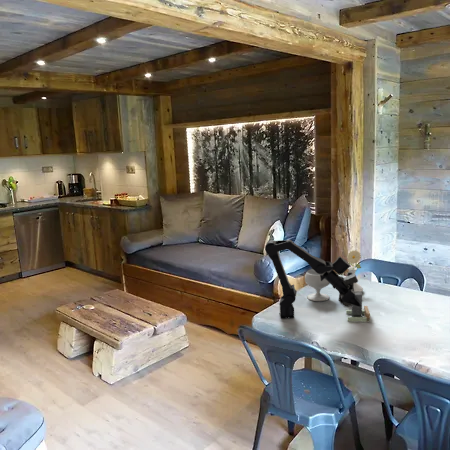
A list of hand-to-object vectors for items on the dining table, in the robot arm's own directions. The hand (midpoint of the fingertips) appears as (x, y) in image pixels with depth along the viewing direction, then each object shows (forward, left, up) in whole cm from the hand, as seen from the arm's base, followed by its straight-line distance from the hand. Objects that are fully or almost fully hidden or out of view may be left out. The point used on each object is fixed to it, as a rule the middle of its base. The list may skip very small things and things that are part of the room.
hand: (359, 302), depth 208 cm
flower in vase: (+8, +34, -8) cm, 36 cm away
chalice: (-13, +29, -8) cm, 33 cm away
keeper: (-1, 0, -8) cm, 8 cm away
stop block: (-1, 0, -8) cm, 8 cm away
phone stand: (0, +19, -8) cm, 21 cm away
